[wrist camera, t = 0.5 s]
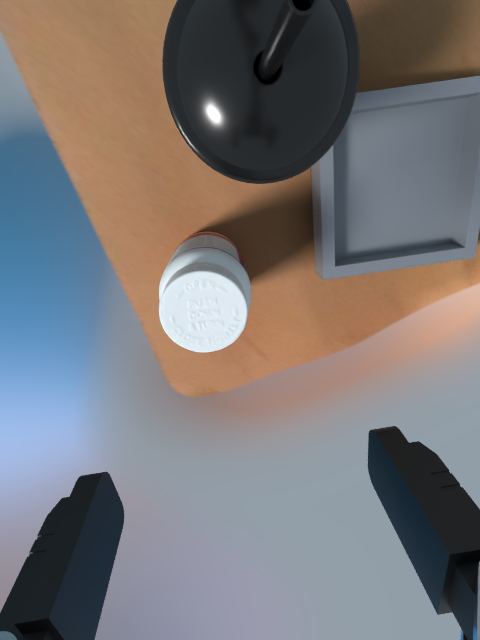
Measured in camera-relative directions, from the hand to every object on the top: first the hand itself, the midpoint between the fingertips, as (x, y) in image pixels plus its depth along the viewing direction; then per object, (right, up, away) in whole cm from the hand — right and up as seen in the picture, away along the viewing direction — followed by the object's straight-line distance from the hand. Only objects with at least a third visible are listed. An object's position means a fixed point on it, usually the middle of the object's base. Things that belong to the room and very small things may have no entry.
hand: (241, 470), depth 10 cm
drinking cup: (0, +20, +15) cm, 25 cm away
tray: (+12, +16, +18) cm, 27 cm away
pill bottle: (-3, +10, +19) cm, 22 cm away
